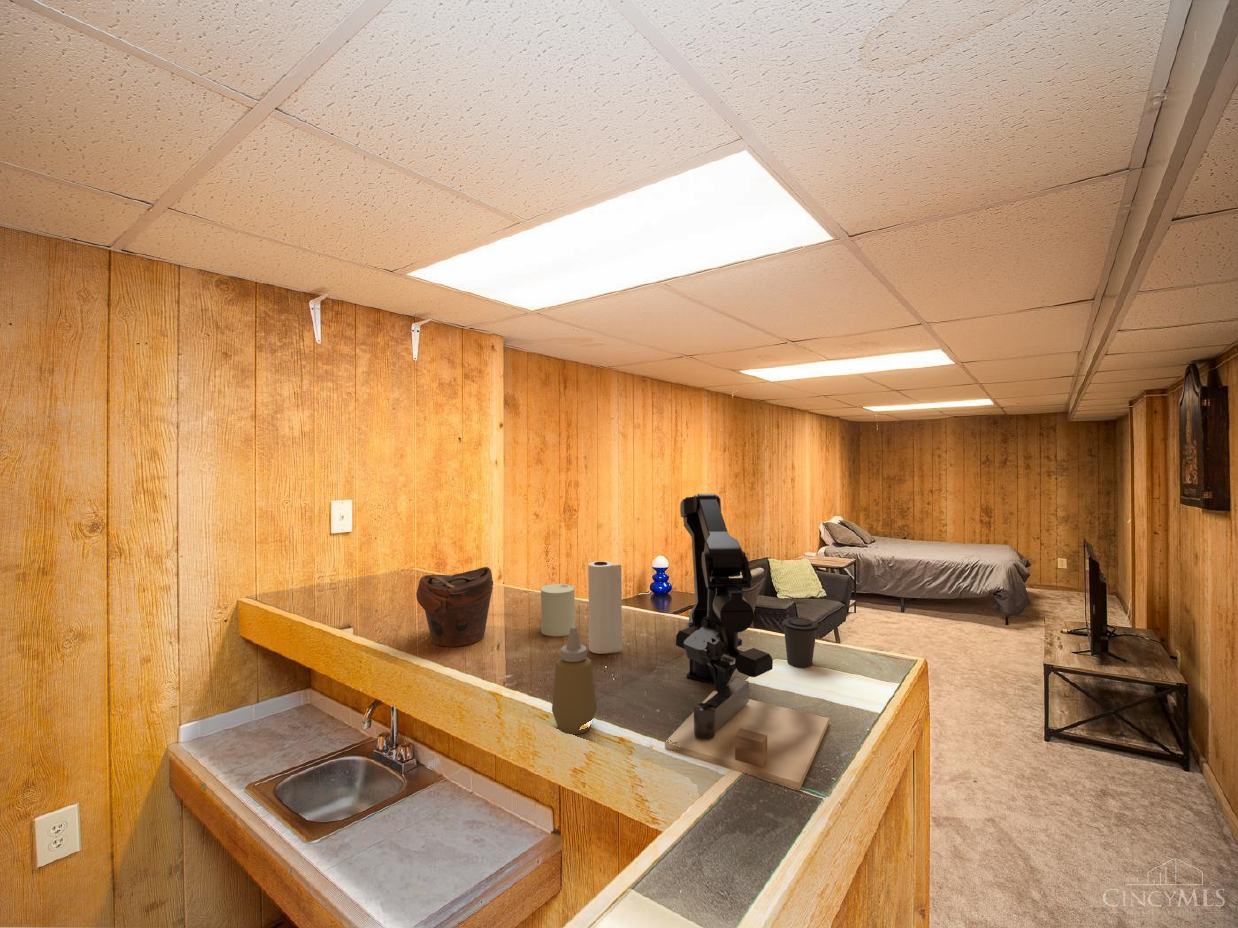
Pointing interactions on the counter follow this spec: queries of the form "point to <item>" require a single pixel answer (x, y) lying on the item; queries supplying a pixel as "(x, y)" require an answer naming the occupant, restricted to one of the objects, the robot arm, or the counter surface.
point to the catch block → (751, 747)
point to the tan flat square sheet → (787, 741)
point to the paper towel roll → (605, 607)
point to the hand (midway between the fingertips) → (720, 694)
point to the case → (456, 606)
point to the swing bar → (720, 708)
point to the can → (557, 609)
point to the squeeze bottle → (573, 687)
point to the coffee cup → (800, 641)
